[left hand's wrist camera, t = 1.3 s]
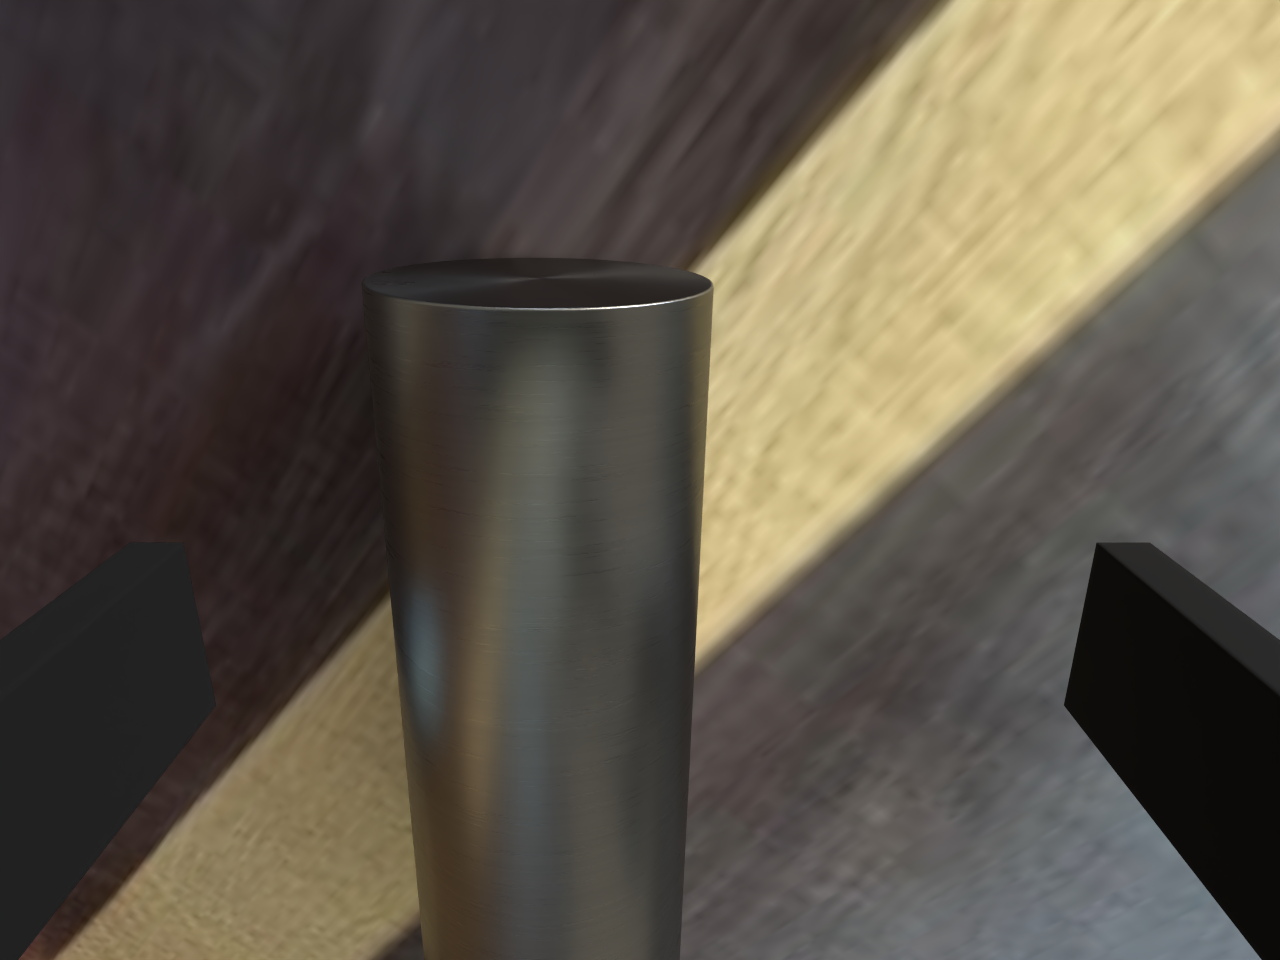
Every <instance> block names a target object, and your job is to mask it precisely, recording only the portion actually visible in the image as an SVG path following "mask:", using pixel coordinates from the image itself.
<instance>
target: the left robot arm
mask: <svg viewBox="0 0 1280 960" xmlns="http://www.w3.org/2000/svg"><path fill="white" fill-rule="evenodd" d="M215 706H216V703H215V698H214V693H213V688H212V683H211V678H210V673H209V668H208V663H207V658H206V653H205V648H204V643H203V638H202V633H201V628H200V623H199V618H198V613H197V608H196V603H195V598H194V593H193V588H192V583H191V578H190V573H189V568H188V563H187V558H186V553H185V548H184V543H129V544H128V545H126V546H125V547H124V548H122V549H121V550H120V551H118V552H117V553H116V554H114V555H113V556H112V557H110V558H109V559H108V560H106V561H105V562H104V563H102V564H101V565H100V566H98V567H97V568H96V569H94V570H93V571H92V572H90V573H89V574H88V575H86V576H85V577H84V578H82V579H81V580H80V581H78V582H77V583H76V584H74V585H73V586H72V587H70V588H69V589H68V590H66V591H65V592H64V593H62V594H61V595H60V596H58V597H57V598H56V599H54V600H53V601H52V602H50V603H49V604H48V605H46V606H45V607H44V608H42V609H41V610H40V611H38V612H37V613H36V614H34V615H33V616H32V617H30V618H29V619H28V620H26V621H25V622H24V623H22V624H21V625H20V626H18V627H17V628H16V629H14V630H13V631H12V632H10V633H9V634H8V635H6V636H5V637H4V638H2V639H1V640H0V960H18V959H19V958H20V957H21V955H22V954H23V953H24V952H25V950H26V949H27V948H28V946H29V945H30V944H31V943H32V941H33V940H34V939H35V937H36V936H37V935H38V934H39V932H40V931H41V930H42V928H43V927H44V926H45V925H46V923H47V922H48V921H49V919H50V918H51V917H52V916H53V914H54V913H55V912H56V910H57V909H58V908H59V907H60V905H61V904H62V903H63V901H64V900H65V899H66V898H67V896H68V895H69V894H70V892H71V891H72V890H73V889H74V887H75V886H76V885H77V883H78V882H79V881H80V880H81V878H82V877H83V876H84V874H85V873H86V872H87V871H88V869H89V868H90V867H91V865H92V864H93V863H94V862H95V860H96V859H97V858H98V856H99V855H100V854H101V853H102V851H103V850H104V849H105V847H106V846H107V845H108V844H109V842H110V841H111V840H112V838H113V837H114V836H115V835H116V833H117V832H118V831H119V829H120V828H121V827H122V826H123V824H124V823H125V822H126V820H127V819H128V818H129V817H130V815H131V814H132V813H133V811H134V810H135V809H136V808H137V806H138V805H139V804H140V802H141V801H142V800H143V799H144V797H145V796H146V795H147V793H148V792H149V791H150V790H151V788H152V787H153V786H154V784H155V783H156V782H157V781H158V779H159V778H160V777H161V775H162V774H163V773H164V772H165V770H166V769H167V768H168V766H169V765H170V764H171V763H172V761H173V760H174V759H175V757H176V756H177V755H178V754H179V752H180V751H181V750H182V748H183V747H184V746H185V745H186V743H187V742H188V741H189V739H190V738H191V737H192V736H193V734H194V733H195V732H196V730H197V729H198V728H199V727H200V725H201V724H202V723H203V721H204V720H205V719H206V718H207V716H208V715H209V714H210V712H211V711H212V710H213V709H214V707H215ZM1064 706H1065V707H1066V709H1067V710H1068V711H1069V712H1070V714H1071V715H1072V716H1073V718H1074V719H1075V720H1076V721H1077V723H1078V724H1079V725H1080V727H1081V728H1082V729H1083V730H1084V732H1085V733H1086V734H1087V736H1088V737H1089V738H1090V739H1091V741H1092V742H1093V743H1094V745H1095V746H1096V747H1097V748H1098V750H1099V751H1100V752H1101V754H1102V755H1103V756H1104V757H1105V759H1106V760H1107V761H1108V763H1109V764H1110V765H1111V766H1112V768H1113V769H1114V770H1115V772H1116V773H1117V774H1118V775H1119V777H1120V778H1121V779H1122V781H1123V782H1124V783H1125V784H1126V786H1127V787H1128V788H1129V790H1130V791H1131V792H1132V793H1133V795H1134V796H1135V797H1136V799H1137V800H1138V801H1139V802H1140V804H1141V805H1142V806H1143V808H1144V809H1145V810H1146V811H1147V813H1148V814H1149V815H1150V817H1151V818H1152V819H1153V820H1154V822H1155V823H1156V824H1157V826H1158V827H1159V828H1160V829H1161V831H1162V832H1163V833H1164V835H1165V836H1166V837H1167V838H1168V840H1169V841H1170V842H1171V844H1172V845H1173V846H1174V847H1175V849H1176V850H1177V851H1178V853H1179V854H1180V855H1181V856H1182V858H1183V859H1184V860H1185V862H1186V863H1187V864H1188V865H1189V867H1190V868H1191V869H1192V871H1193V872H1194V873H1195V874H1196V876H1197V877H1198V878H1199V880H1200V881H1201V882H1202V883H1203V885H1204V886H1205V887H1206V889H1207V890H1208V891H1209V892H1210V894H1211V895H1212V896H1213V898H1214V899H1215V900H1216V901H1217V903H1218V904H1219V905H1220V907H1221V908H1222V909H1223V910H1224V912H1225V913H1226V914H1227V916H1228V917H1229V918H1230V919H1231V921H1232V922H1233V923H1234V925H1235V926H1236V927H1237V928H1238V930H1239V931H1240V932H1241V934H1242V935H1243V936H1244V937H1245V939H1246V940H1247V941H1248V943H1249V944H1250V945H1251V946H1252V948H1253V949H1254V950H1255V952H1256V953H1257V954H1258V955H1259V957H1260V958H1261V959H1262V960H1280V640H1279V639H1278V638H1276V637H1275V636H1274V635H1272V634H1271V633H1270V632H1268V631H1267V630H1266V629H1264V628H1263V627H1262V626H1260V625H1259V624H1258V623H1256V622H1255V621H1254V620H1252V619H1251V618H1250V617H1248V616H1247V615H1246V614H1244V613H1243V612H1242V611H1240V610H1239V609H1238V608H1236V607H1235V606H1234V605H1232V604H1231V603H1230V602H1228V601H1227V600H1226V599H1224V598H1223V597H1222V596H1220V595H1219V594H1218V593H1216V592H1215V591H1214V590H1212V589H1211V588H1210V587H1208V586H1207V585H1206V584H1204V583H1203V582H1202V581H1200V580H1199V579H1198V578H1196V577H1195V576H1194V575H1192V574H1191V573H1190V572H1188V571H1187V570H1186V569H1184V568H1183V567H1182V566H1180V565H1179V564H1178V563H1176V562H1175V561H1174V560H1172V559H1171V558H1170V557H1168V556H1167V555H1166V554H1164V553H1163V552H1162V551H1160V550H1159V549H1158V548H1156V547H1155V546H1154V545H1152V544H1151V543H1096V548H1095V553H1094V558H1093V563H1092V568H1091V573H1090V578H1089V583H1088V588H1087V593H1086V598H1085V603H1084V608H1083V613H1082V618H1081V623H1080V628H1079V633H1078V638H1077V643H1076V648H1075V653H1074V658H1073V663H1072V668H1071V673H1070V678H1069V683H1068V688H1067V693H1066V698H1065V703H1064Z"/></svg>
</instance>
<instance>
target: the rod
mask: <svg viewBox="0 0 1280 960" xmlns="http://www.w3.org/2000/svg"><path fill="white" fill-rule="evenodd" d="M713 289H714V288H713V283H712V282H711V281H710V280H709V279H707V278H706V277H704V276H701V275H698V274H696V273H693V272H689V271H685V270H680V269H675V268H670V267H664V266H657V265H650V264H641V263H632V262H621V261H607V260H591V259H565V258H496V259H472V260H456V261H443V262H432V263H424V264H415V265H409V266H402V267H397V268H392V269H388V270H384V271H380V272H377V273H375V274H372V275H370V276H368V277H366V278H365V279H364V280H363V282H362V293H363V304H364V315H365V326H366V336H367V347H368V358H369V369H370V380H371V390H372V401H373V412H374V423H375V433H376V444H377V455H378V466H379V476H380V487H381V498H382V509H383V519H384V530H385V541H386V552H387V563H388V573H389V584H390V595H391V606H392V616H393V627H394V638H395V649H396V659H397V670H398V681H399V692H400V703H401V713H402V724H403V735H404V746H405V756H406V767H407V778H408V789H409V799H410V810H411V821H412V832H413V843H414V853H415V864H416V875H417V886H418V896H419V907H420V918H421V929H422V939H423V950H424V960H680V943H681V923H682V903H683V884H684V864H685V844H686V824H687V804H688V784H689V765H690V745H691V725H692V705H693V685H694V665H695V646H696V626H697V606H698V586H699V566H700V546H701V527H702V507H703V487H704V467H705V447H706V427H707V408H708V388H709V368H710V348H711V328H712V308H713Z"/></svg>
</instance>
